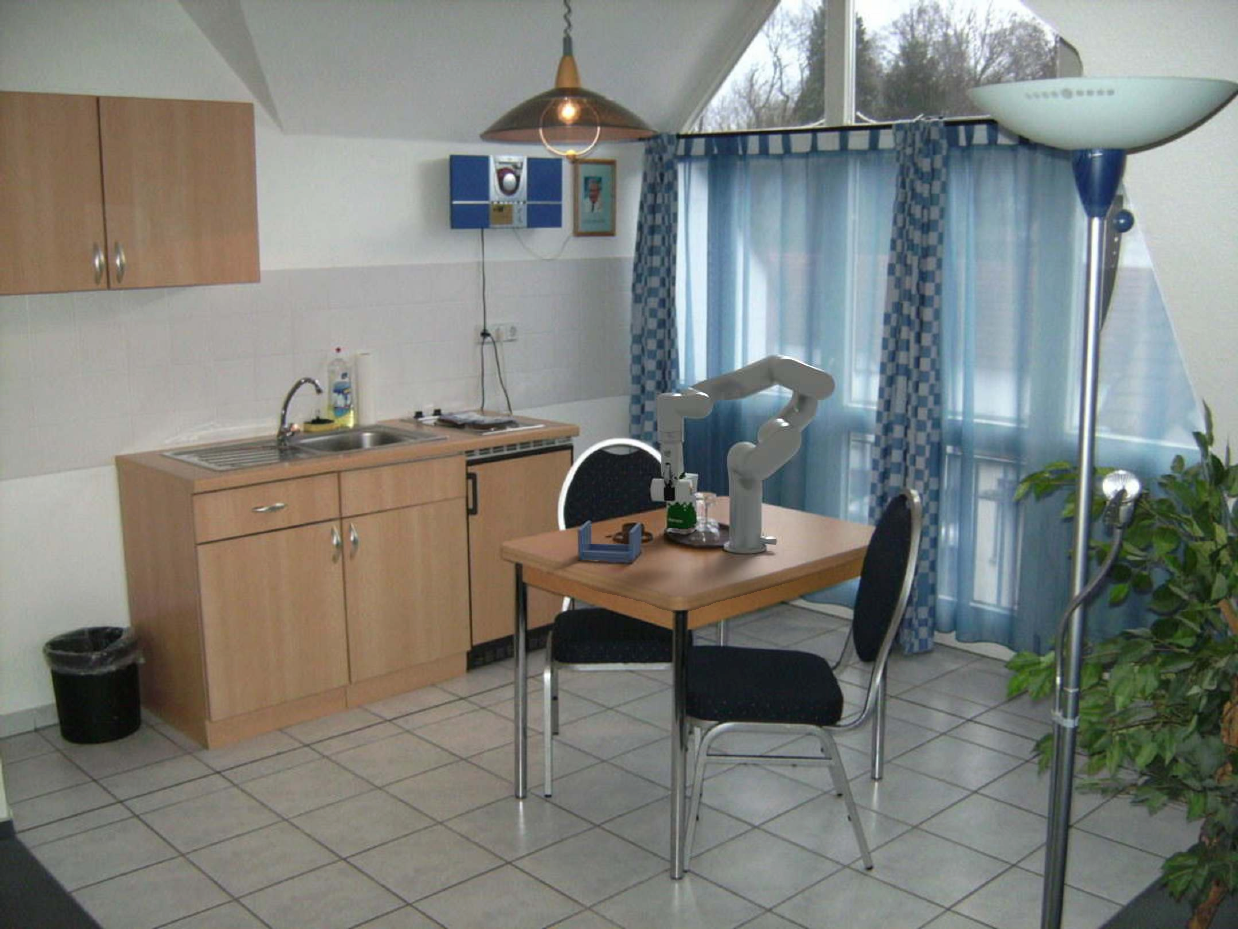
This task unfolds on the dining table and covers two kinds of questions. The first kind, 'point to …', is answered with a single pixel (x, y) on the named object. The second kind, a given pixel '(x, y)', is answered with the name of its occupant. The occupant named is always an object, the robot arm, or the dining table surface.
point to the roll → (681, 490)
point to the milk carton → (683, 507)
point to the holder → (608, 546)
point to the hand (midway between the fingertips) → (671, 497)
